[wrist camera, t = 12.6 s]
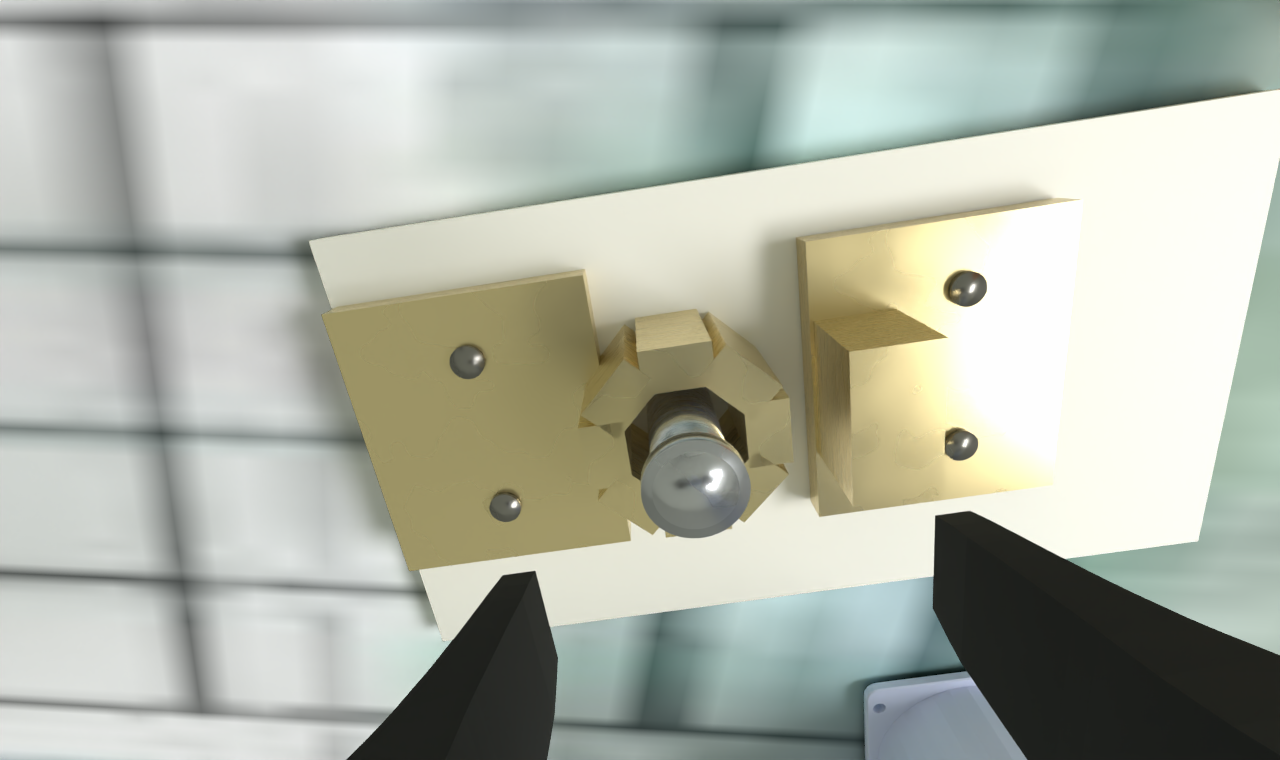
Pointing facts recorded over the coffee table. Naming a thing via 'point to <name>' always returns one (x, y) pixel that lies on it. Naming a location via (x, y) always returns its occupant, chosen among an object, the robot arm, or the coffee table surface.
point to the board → (770, 320)
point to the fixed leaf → (535, 413)
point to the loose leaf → (936, 354)
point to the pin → (691, 467)
